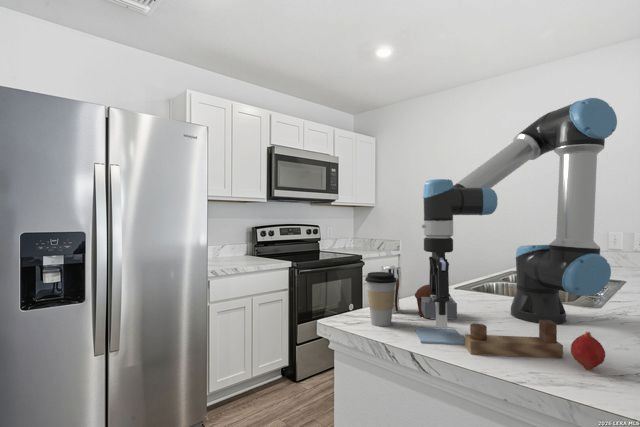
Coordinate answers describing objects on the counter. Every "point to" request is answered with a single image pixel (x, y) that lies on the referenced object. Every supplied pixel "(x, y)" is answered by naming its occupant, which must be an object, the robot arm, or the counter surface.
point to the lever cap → (430, 307)
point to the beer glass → (397, 275)
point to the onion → (587, 351)
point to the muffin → (423, 292)
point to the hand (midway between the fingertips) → (438, 322)
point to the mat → (439, 336)
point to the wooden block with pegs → (515, 342)
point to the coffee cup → (381, 297)
